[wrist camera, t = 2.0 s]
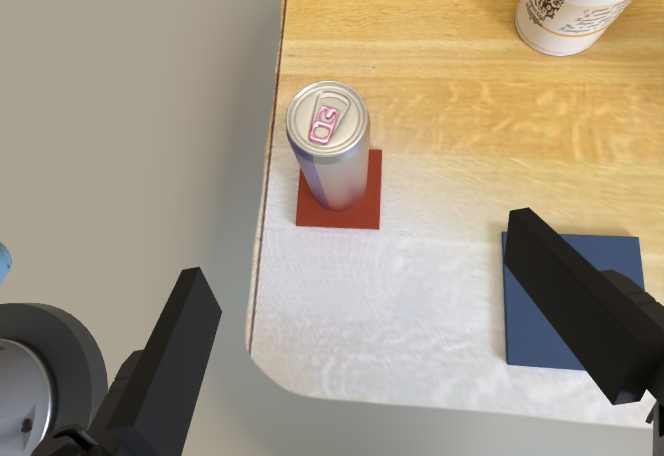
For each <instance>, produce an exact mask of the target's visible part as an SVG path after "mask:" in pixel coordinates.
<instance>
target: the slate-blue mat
mask: <svg viewBox="0 0 664 456" xmlns="http://www.w3.org/2000/svg"><path fill="white" fill-rule="evenodd" d="M559 235H560V236H561V237H562V238H563V239H564V240H565V241H566V242H568V243H569V244H570V245H571V246H572V247H573V248H574V249H575V250H576V251H577V252H579V253H580V254H581V255H582V256H583V257H584V258H585V259H586V260H587V261H589V262H590V263H591V264H592V265H593V266H594V267H595V268H596V269H597V270H598V271H603V270H609V269H613V270H615V271H617V272H619V273H621V274H623V275H625V276H627V277H629V278H630V279H632V280H633V281H634V282H635V283H636V284H638V285H639V286H640V287H641V288H642V289H644V292H645V288H644V280H643V271H642V262H641V254H640V245H639V238H638V237H619V236H595V235H572V234H559ZM506 239H507V232H502V247H503V274H504V300H505V327H506V354H507V364H508V365H519V366H532V367H545V368H559V369H572V370H585V368H584V367H583V366H582V364H581V363H580V362H579V361H578V359H577V358H576V357H575V355H574V354H573V353H572V351H571V350H570V349H569V347H568V346H567V345H566V344H565V342H564V341H563V340H562V338H561V337H560V336H559V334H558V333H557V332H556V330H555V329H554V328H553V327H552V325H551V324H550V323H549V321H548V320H547V319H546V317H545V316H544V315H543V314H542V312H541V311H540V310H539V308H538V307H537V306H536V304H535V303H534V302H533V300H532V299H531V298H530V297H529V295H528V294H527V293H526V291H525V290H524V289H523V287H522V286H521V285H520V283H519V282H518V281H517V280H516V278H515V277H514V276H513V274H512V273H511V272H510V270H509V269H508V268H507V266H506V265H505V264H504V256H505V248H506ZM585 371H586V370H585Z"/></svg>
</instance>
